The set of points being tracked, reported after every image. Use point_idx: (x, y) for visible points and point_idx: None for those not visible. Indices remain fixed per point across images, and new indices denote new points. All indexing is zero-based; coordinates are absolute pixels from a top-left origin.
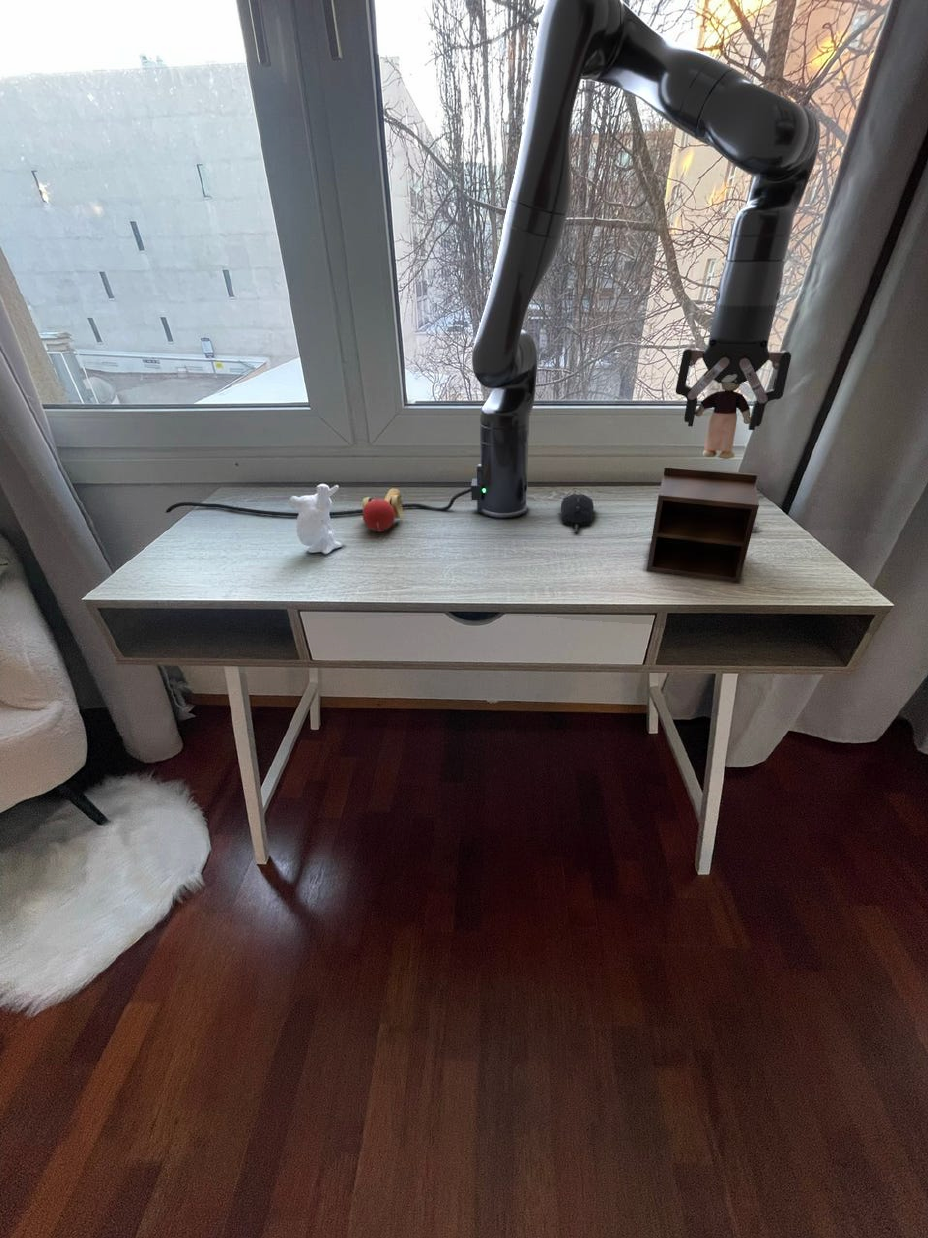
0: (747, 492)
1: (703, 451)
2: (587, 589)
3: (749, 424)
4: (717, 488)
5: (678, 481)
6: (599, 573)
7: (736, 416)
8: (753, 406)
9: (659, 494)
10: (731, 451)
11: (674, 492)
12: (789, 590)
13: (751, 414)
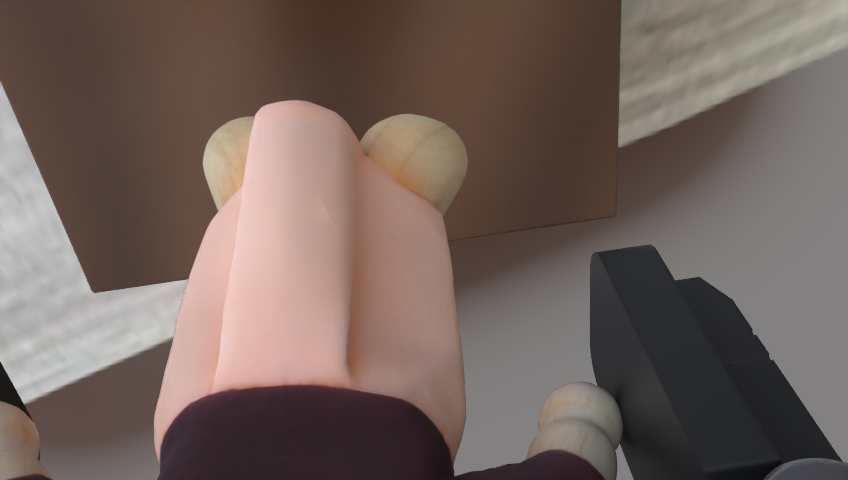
0: (562, 42)
1: (206, 176)
2: (59, 308)
3: (602, 312)
4: (374, 41)
5: (90, 4)
6: (29, 195)
7: (459, 432)
8: (672, 451)
9: (92, 285)
10: (441, 188)
11: (154, 223)
12: (698, 23)
13: (635, 363)
